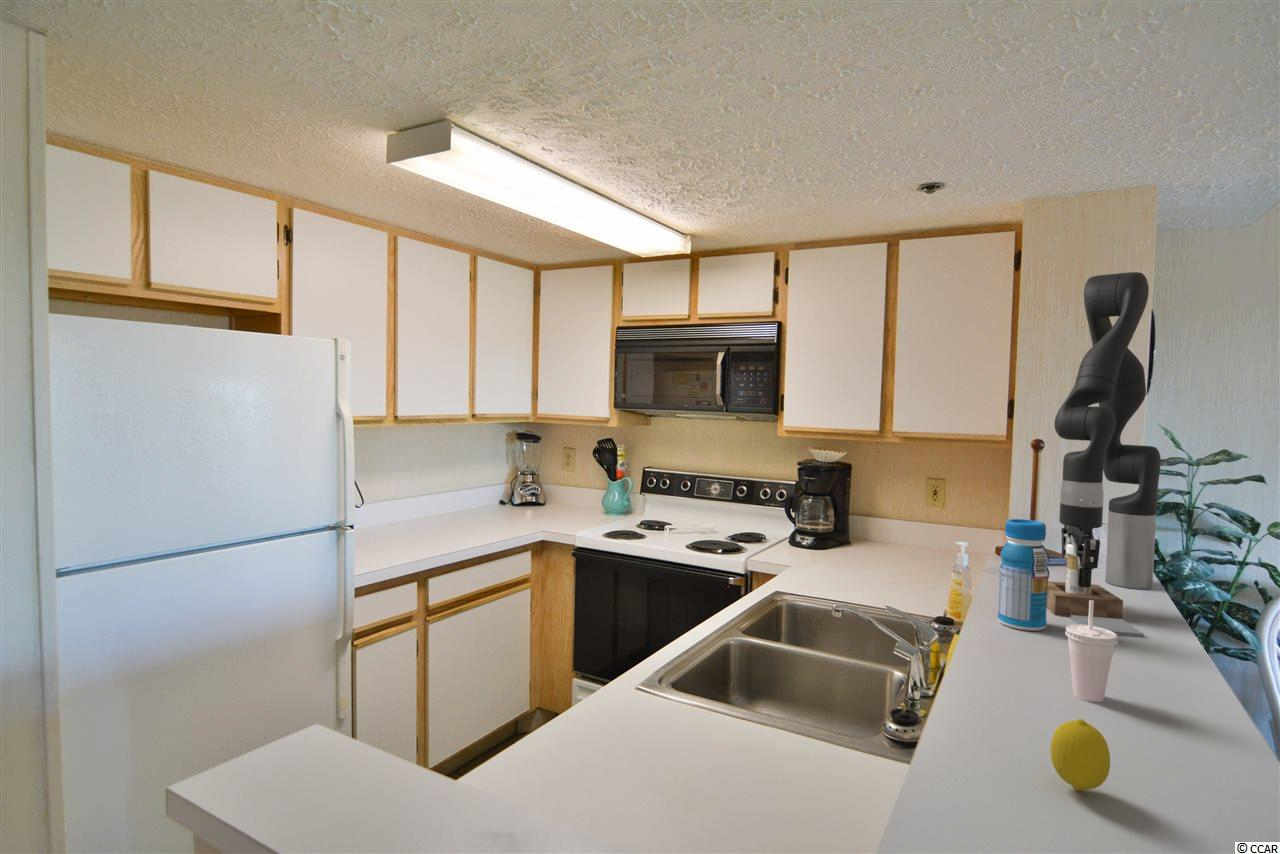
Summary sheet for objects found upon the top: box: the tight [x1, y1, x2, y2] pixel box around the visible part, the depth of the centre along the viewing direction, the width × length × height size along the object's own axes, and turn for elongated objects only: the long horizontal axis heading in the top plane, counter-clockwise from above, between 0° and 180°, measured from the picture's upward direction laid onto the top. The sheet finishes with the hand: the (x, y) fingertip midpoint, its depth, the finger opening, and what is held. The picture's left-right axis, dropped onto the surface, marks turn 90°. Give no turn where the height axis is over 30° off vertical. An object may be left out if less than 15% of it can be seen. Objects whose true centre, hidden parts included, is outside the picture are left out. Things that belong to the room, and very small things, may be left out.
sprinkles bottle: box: [1065, 544, 1090, 595], centre depth 144 cm, size 5×5×14 cm
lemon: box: [1050, 718, 1111, 793], centre depth 76 cm, size 6×6×8 cm
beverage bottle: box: [997, 518, 1050, 632], centre depth 133 cm, size 8×8×20 cm
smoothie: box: [1064, 600, 1119, 703], centre depth 100 cm, size 6×6×14 cm
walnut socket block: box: [1046, 580, 1124, 619], centre depth 144 cm, size 12×12×4 cm
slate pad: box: [1070, 615, 1145, 638], centre depth 132 cm, size 9×9×1 cm
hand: (1077, 582), depth 144 cm, fingers open, 6 cm apart
